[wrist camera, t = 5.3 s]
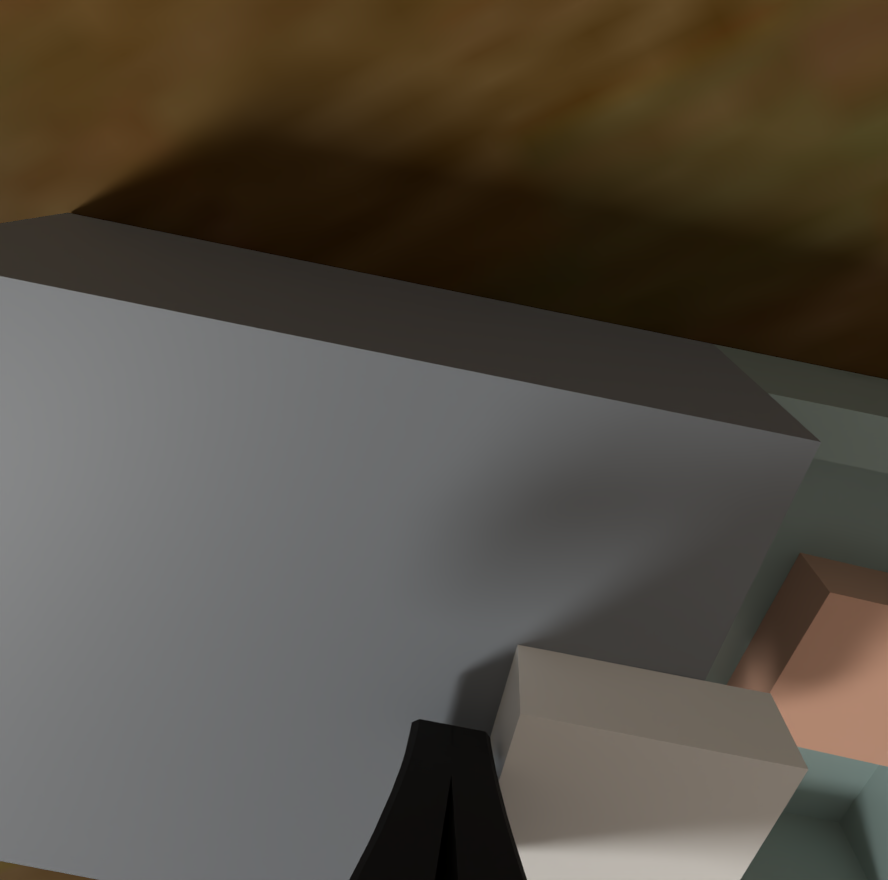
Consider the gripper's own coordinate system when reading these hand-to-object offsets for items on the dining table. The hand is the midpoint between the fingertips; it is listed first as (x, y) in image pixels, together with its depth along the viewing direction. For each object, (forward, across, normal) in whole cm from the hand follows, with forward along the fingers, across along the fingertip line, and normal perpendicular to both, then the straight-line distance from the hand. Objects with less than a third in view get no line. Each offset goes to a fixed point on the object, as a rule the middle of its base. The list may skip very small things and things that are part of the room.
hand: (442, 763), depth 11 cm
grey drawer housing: (+6, +3, 0) cm, 6 cm away
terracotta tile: (+4, -10, 0) cm, 11 cm away
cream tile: (+1, -3, 0) cm, 3 cm away
